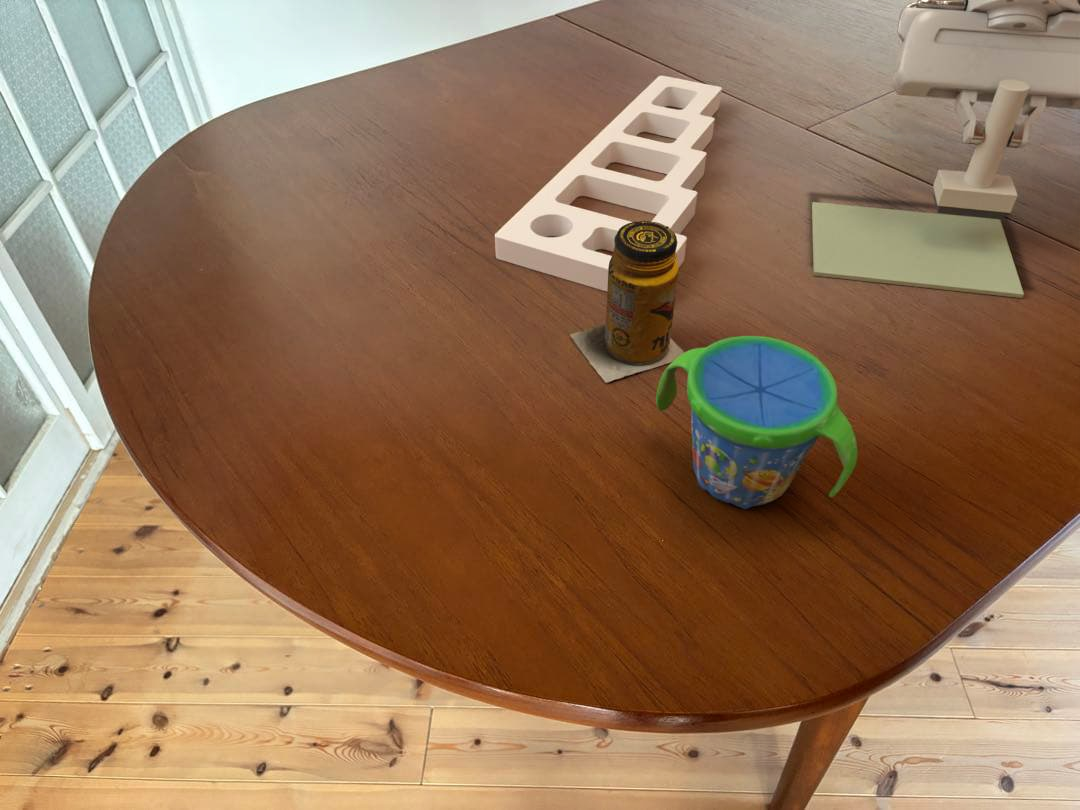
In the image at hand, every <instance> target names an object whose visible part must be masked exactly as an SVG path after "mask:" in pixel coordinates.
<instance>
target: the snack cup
mask: <svg viewBox="0 0 1080 810" xmlns="http://www.w3.org/2000/svg"><path fill="white" fill-rule="evenodd" d="M684 352H685V353H683V354H681V355H680V356H679V357H677V358H676V359H675V360H674V361H673V362H670V363H669V365H668V366H667V367H666V368H665V369H664V371H663V372H662V374H661V377H660V379H659V382H658V385H657V388H656V396H655V404H656V407H657V409H658V410H659V411H662V412H663V411H666V410H667V409H669V408H670V407H671V406H672V404H673V403H674V401H675V399H676V397H677V392H678V383H677V378H676V376H677V375H676V371H677V370H678V368H682V369H683V370H684V371H685V372H686V373H687V380H686V393H687V399H688V402H689V406H690V407H691V417H690V418H691V420H690V421H691V439H692V442H691V443H692V444H691V450H692V466H693V471H694V474H695V476H696V480H697V483H698V485H699V486H700V488H702V490H703V491H706V492H708V493H709V494H710V495H711V496H712V497H713V498H715V499H717V500H718V501H721V502H723V503H726V504H732V505H734V506H736V507H739V508H741V509H743V510H747V509H750V508H752V507H759V506H764V505H766V504H769V503H772V502H773V501H775V500H777V499H778V498H780V497H782V496H783V495H784V493H786V491H787V490H788V489H789V487H790V486H791V484H792V482H793V480H794V478H795V476H796V474H797V473H798V471H799V470H800V468H801V466H802V463H804V460H805V458H806V457H807V454H808V453H809V451H810V449H812V447H813V446H814V444H815V443H816V442H817V441H818V440H819V438H820V437H823V438H826V439H829V440H830V441H832V442H833V445H834V448H835V450H836V453H837V455H838V457H839V460H840V462H841V465H842V467H843V469H842V471H841V473H840V475H839V477H838V479H837V481H836V483H835V485H833V487H832V488H831V490H830V491H829V493H828V496H829V498H832V499H833V498H834V497H835V496H836V495H837V494H838V493H839V492H840V491H841V489H842V488H843V487H844V485H845V484H846V482H848V479H849V478H850V477H851V475H852V473H853V472H854V470H855V467H856V464H857V461H858V444H857V443H858V442H857V438H856V434H855V431H854V430H853V426H852V425H851V423H850V421H849V420H848V418H847V417H846V416H845V414H844V413H843V412H842V410H841V409H840V408H839V406H838V387H837V384H836V381H835V379H834V376H833V374H832V373H831V372H830V370H829V369H828V367H826V366H825V364H824V363H823V362H822V361H821V360H820V359H818V358H817V357H816V356H815V355H813V354H812V353H811V352H809V351H807V350H805V349H804V348H802V347H800V346H798V345H796V344H793V343H790V342H788V341H786V340H782V339H779V338H774V337H769V336H761V335H740V336H731V337H726V338H723V339H720V340H717V341H715V342H713V343H711V344H709V345H708V346H706V347H695V348H691V349H689V350H687V351H684Z"/></svg>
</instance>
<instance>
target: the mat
mask: <svg viewBox="0 0 1080 810" xmlns="http://www.w3.org/2000/svg"><path fill="white" fill-rule="evenodd" d="M811 229H812V232H811V233H812V268H813V269H812V270H813V277H814V276H815V277H823V278H832V279H833V278H834V279H842V280H852V281H861V282H868V283H880V284H887V285H897V286H906V287H915V288H923V289H924V288H925V289H934V290H944V291H951V292H952V291H953V292H962V293H971V294H979V295H980V294H981V295H990V296H999V297H1007V298H1017V299H1023V298H1024V295H1025V293H1024V290H1023V287H1022V283H1021V281H1020V278H1019V277H1020V276H1019V275H1018V270H1017V268H1016V265H1015V262H1014V259H1013V256H1012V253H1011V250H1010V246H1009V243H1008V239H1007V237H1006V233H1005V229H1004V227H1003V224H1002V220H1001V219H991V218H981V217H971V216H961V215H951V214H941V213H933V212H923V211H915V210H914V211H913V210H912V211H911V210H903V209H902V210H901V209H891V208H880V207H870V206H861V205H849V204H839V203H828V202H827V203H826V202H818V201H817V202H816V201H813V202H811Z"/></svg>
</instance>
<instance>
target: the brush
mask: <svg viewBox="0 0 1080 810" xmlns="http://www.w3.org/2000/svg"><path fill="white" fill-rule="evenodd" d="M1029 88H1030V87H1029V85H1028V84H1027V83H1025V82H1022V81H1019V80H1013V79H1006V80H1002V81H1001V82H1000V83H999V86H998V88H997V91H996V94H995V97H994V99H993V102H991V105H990V108H989V110H988V113H987V115H986V118H985V121H984V122H986V123H985V129H984V130H983V132H984V138H983V141H982V142H980V144H979V145H975V148H974V151H973V153H972V156H971V158H970V162H969V164H968V167H967V170H966V171H959V170H948V169H938V171H937V173H936V177H935V179H934V183H933V185H932V188H933V192H934V194H933V201H934V205H935V211H936V214H945V215H956V216H966V217H977V218H988V219H998V220H1000V221H1003V220H1004V219H1005V216H1006V214H1007V213H1008V214H1009V213H1012V210H1013V208H1014V205H1015V203H1016V200H1017V198H1018V197H1019V196H1018V193H1017V190H1016V187H1015V184H1014V181H1013V179H1012V176H1011V175H1003V174H997V171H998V169H999V167H1000V165H1001V161H1002V159H1003V156H1004V154H1005V151H1006V149H1007V147H1006V146H1007V144H1008V141H1009V139H1010V136H1011V134H1012V131H1013V129H1014V126H1015V124H1016V125H1017V121H1018V118H1019V116H1020V113H1021V112H1022V106H1023V104H1024V101H1025V98H1026V96H1027V93H1028V91H1029Z"/></svg>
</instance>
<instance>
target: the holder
mask: <svg viewBox="0 0 1080 810" xmlns="http://www.w3.org/2000/svg"><path fill="white" fill-rule="evenodd" d="M722 90H723V88H722V87H721V86H718V85H713V84H706V83H704V82H703V83H702V82H697V81H692V80H687V79H683V78H677V77H673V76H666V75H658V76H657V77H656V78H655V79H654V80H653V81H652V82H651V83H650V84H649V85H648V86H647V87H646V88H645V89H644V90H643V91H641V93H639V94H638V96H636V97H635V99H633V101H631V102H630V103H629V104H628V105H627V106H626V107H625V108H624V109H623V110H622V111H621V112H620V113H618V115H617V116H616V117H615V118H614V119H613V120H612V121H611V122H610V123H609V124H607V125H606V126H605V127H604V128H603V129H602V130H601V131H600V132H599V133H598V134H597V135H596V136H595V137H594V138H593V139H592V140H591V141H590V142H589V143H588V144H587V145H585V147H584V148H582V150H580V152H578V153H577V154H576V156H574V157H573V158H572V159H571V160H570V161H569V162H568V163H567V164H566V165H565V166H564V167H563V168H561V170H560V171H559V172H558V173H556V174H555V176H554V177H552V178H551V180H550V181H548V182H547V183H546V184H545V185H544V186H543V187H542V188H541V189H540V190H538V192H537V193H536V194H535V195H534V196H532V198H531V199H530V200H529V201H528V202H526V203H525V205H524V206H522V208H521V209H519V210H518V211H517V212H516V213H515V214H514V215H513V216H512V217H511V218H510V219H509V220H508V221H507V222H506V223H505V224H504V225H502V226H501V228H500V229H498V231H496V232H495V233H494V248H495V249H494V250H495V258H496V259H497V260H500V261H503V262H507V263H510V264H514V265H516V266H520V267H524V268H526V269H529V270H533V271H536V272H541V273H543V274H547V275H550V276H553V277H556V278H560V279H563V280H565V281H566V280H567V281H570V282H573V283H576V284H580V285H583V286H586V287H589V288H593V289H596V290H600V291H603V292H607V288H608V267H609V262H610V259H611V257H612V256H613V255H609V254H606V253H603V252H599V251H597V250H604V251H607V252H612V253H613V251H614V246H615V243H614V242H615V241H614V238H615V236H616V235H617V232H618V230H619V229H620V228H621V227H622V226H624V225H626V224H628V223H631V222H632V221H630V220H628V219H627V220H626V219H623V218H618V217H615V216H611V215H607V214H604V213H600V212H596V211H593V210H589V209H584V208H581V207H578V206H573V205H571V204H572V203H573V202H575V200H576V199H577V198H579V197H587V198H591V199H595V200H598V201H603V202H607V203H610V204H614V205H618V206H622V207H626V208H630V209H633V210H637V211H641V212H644V213H648V214H653V215H655V216H654V218H653V219H652V220H650V221H651V222H657V223H661V224H663V225H665V226H668V227H669V228H670V229H671V230H672V231H673V232H674V233H675V235H676V238H677V247H676V260H677V262H678V267H679V268H680V267H681V266H682V264H683V263H684V261H685V256H686V249H687V248H686V247H687V241H688V240H687V239H688V238H687V236H686V235H683V234H681V233H682V232H683V231H684V230H685V229H686V227H687V226H688V224H689V223H690V222H691V221H692V219H693V218H694V217H695V214H696V206H697V199H698V191H696V190H693V189H694V188H695V187H696V185H697V184H698V183H699V182H700V180H702V178H703V177H704V176H705V168H706V161H707V152H706V151H704V150H705V148H707V146H708V145H709V144H710V143H711V141H713V133H714V127H715V117H713V116H714V115H715V114H716V113H717V112H718V110H719V109H720V104H721V97H722ZM670 107H672V108H670ZM674 108H678V109H674ZM641 133H648V134H653V135H656V136H660V137H661V136H662V137H666V138H670V139H675V141H673V142H663V141H659V140H654V139H651V138H645V137H641V136H638V135H640V134H641ZM613 163H618V164H622V165H626V166H631V167H634V168H639V169H643V170H648V171H651V172H656V173H659V174H665V176H664V178H663V179H661V180H652V179H648V178H644V177H640V176H635V175H632V174H627V173H623V172H620V171H615V170H612V169H607V167H608V166H609V165H610V164H613Z"/></svg>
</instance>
